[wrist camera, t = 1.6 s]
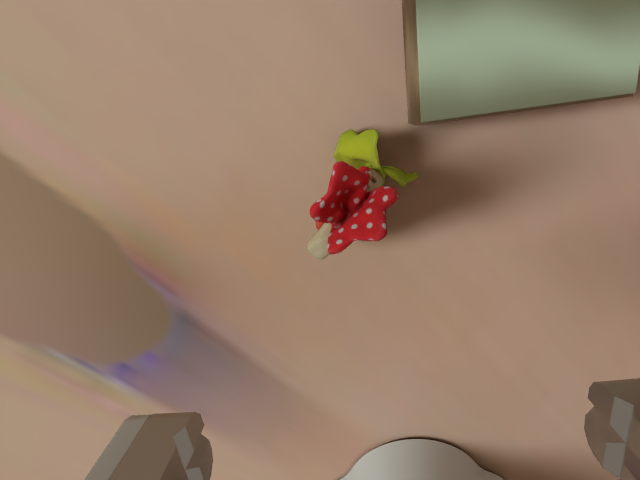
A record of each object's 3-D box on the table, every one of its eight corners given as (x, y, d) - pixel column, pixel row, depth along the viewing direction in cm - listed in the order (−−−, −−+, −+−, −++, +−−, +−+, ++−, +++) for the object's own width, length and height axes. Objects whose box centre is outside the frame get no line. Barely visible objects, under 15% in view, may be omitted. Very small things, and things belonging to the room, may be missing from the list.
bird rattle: (370, 225, 32) (437, 145, 26) (344, 328, 24) (432, 247, 18) (308, 189, 32) (362, 98, 26) (259, 283, 23) (322, 182, 17)
